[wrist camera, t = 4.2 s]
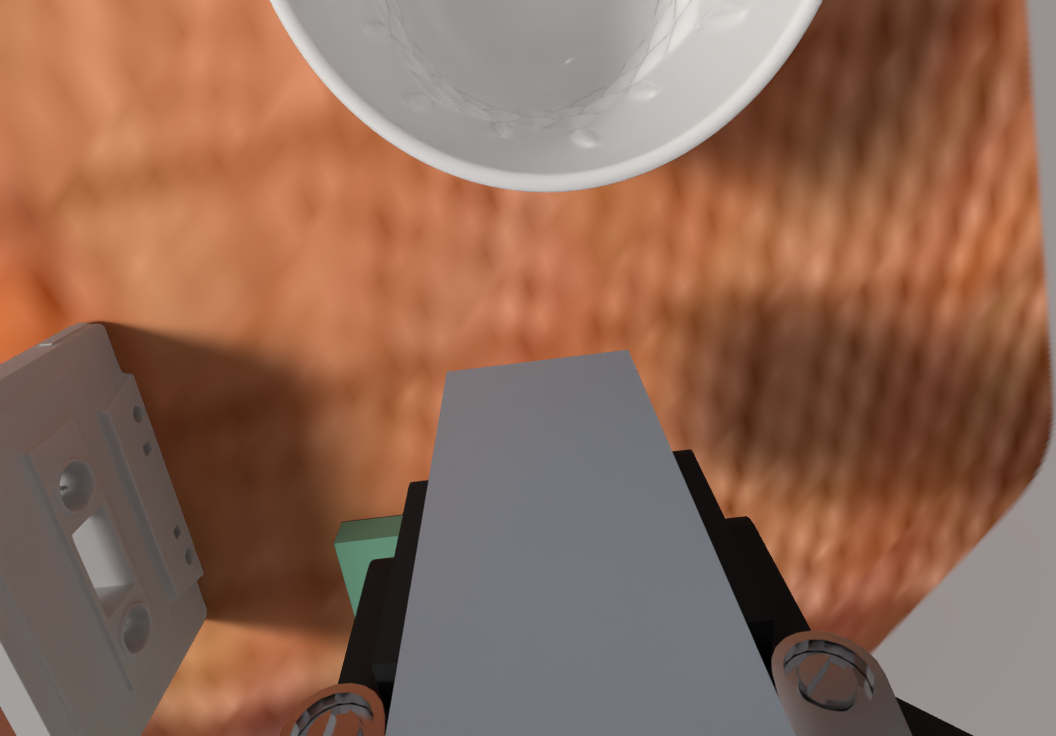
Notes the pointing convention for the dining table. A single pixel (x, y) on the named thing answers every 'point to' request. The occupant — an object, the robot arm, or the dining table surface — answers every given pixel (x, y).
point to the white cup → (546, 78)
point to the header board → (364, 549)
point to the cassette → (87, 546)
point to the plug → (569, 572)
